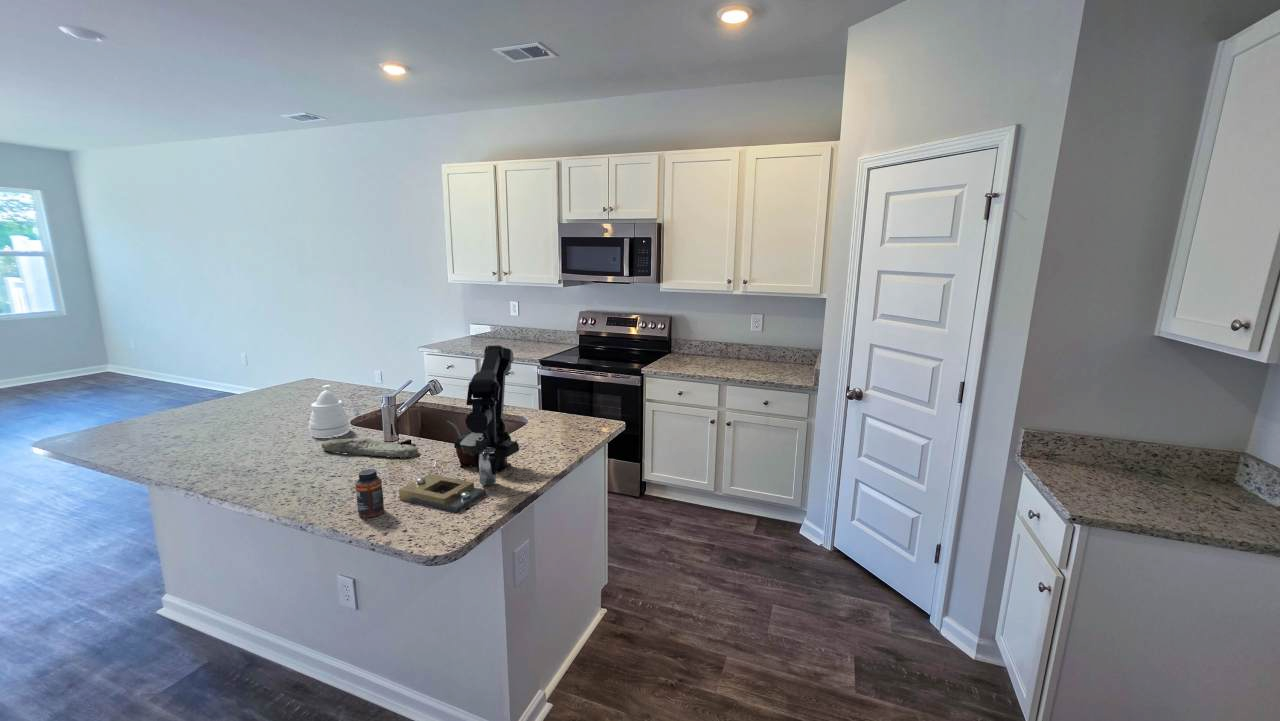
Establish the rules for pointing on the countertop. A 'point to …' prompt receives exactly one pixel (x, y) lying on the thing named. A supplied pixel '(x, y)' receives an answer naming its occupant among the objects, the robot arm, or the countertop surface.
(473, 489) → the lower end link
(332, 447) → the elongated rock
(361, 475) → the supplement bottle
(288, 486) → the countertop surface
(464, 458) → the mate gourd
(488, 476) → the pin
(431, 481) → the upper end link
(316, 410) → the honey pot
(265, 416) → the countertop surface
